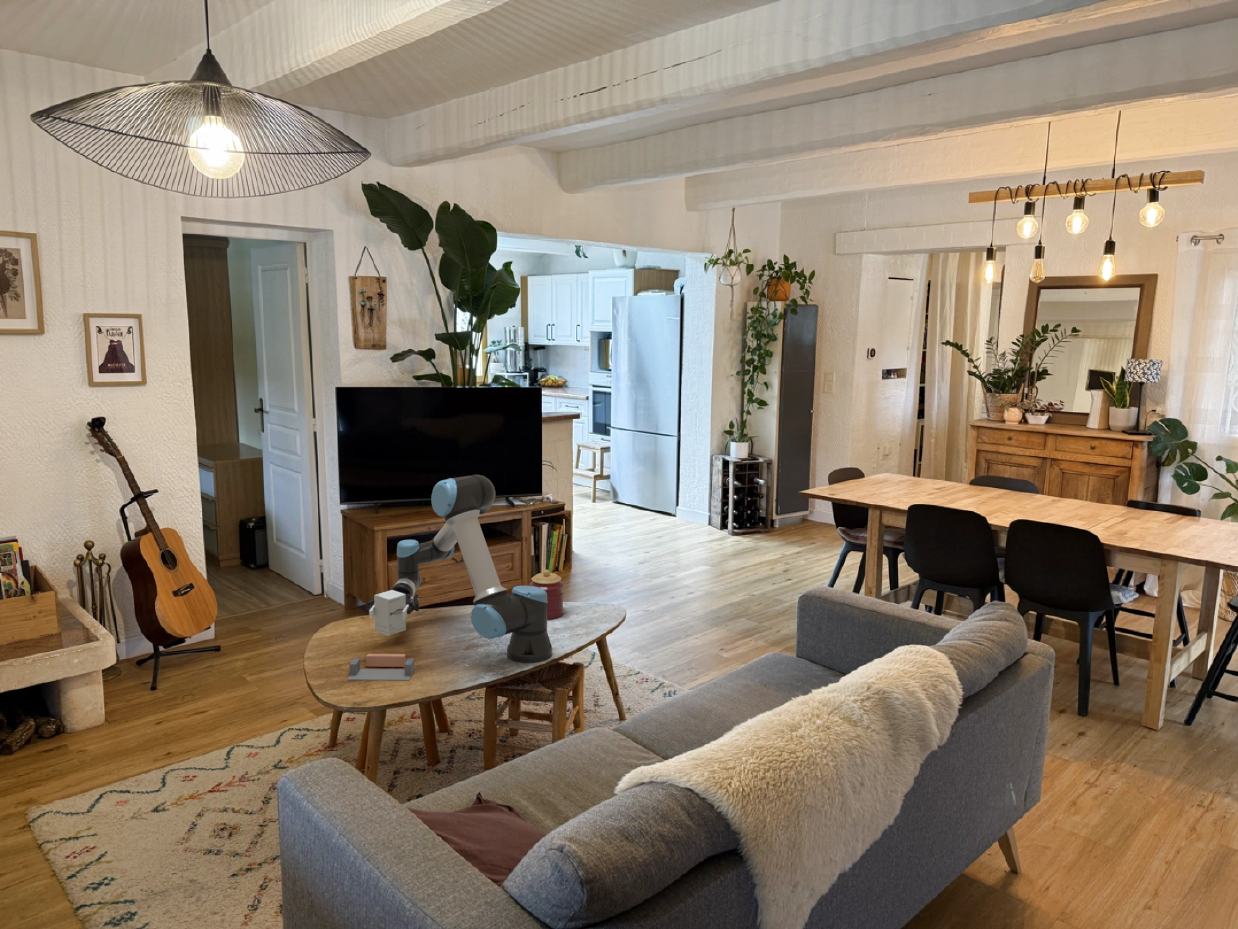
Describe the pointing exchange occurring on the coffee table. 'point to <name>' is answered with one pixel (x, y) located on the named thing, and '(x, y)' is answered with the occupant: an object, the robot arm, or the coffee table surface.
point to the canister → (550, 592)
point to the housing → (381, 672)
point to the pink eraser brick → (385, 660)
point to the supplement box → (389, 612)
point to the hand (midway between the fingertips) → (387, 615)
